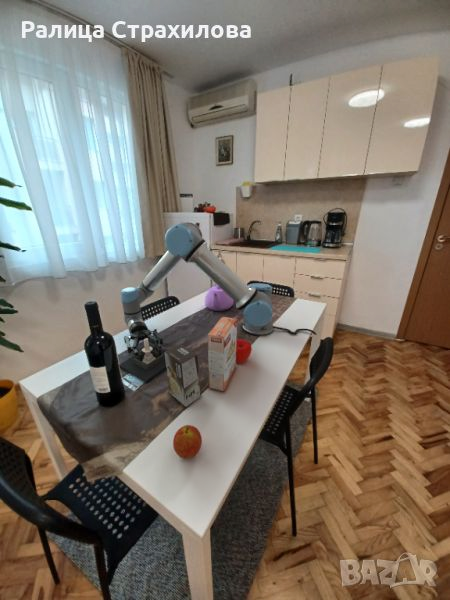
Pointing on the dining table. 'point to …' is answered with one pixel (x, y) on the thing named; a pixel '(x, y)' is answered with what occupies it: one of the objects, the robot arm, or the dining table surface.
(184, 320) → the dining table surface
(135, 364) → the socket pad
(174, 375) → the coffee box
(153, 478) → the dining table surface
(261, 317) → the robot arm
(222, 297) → the teapot
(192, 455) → the fruit
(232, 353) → the cracker box
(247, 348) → the apple
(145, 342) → the white tall tiered piece
